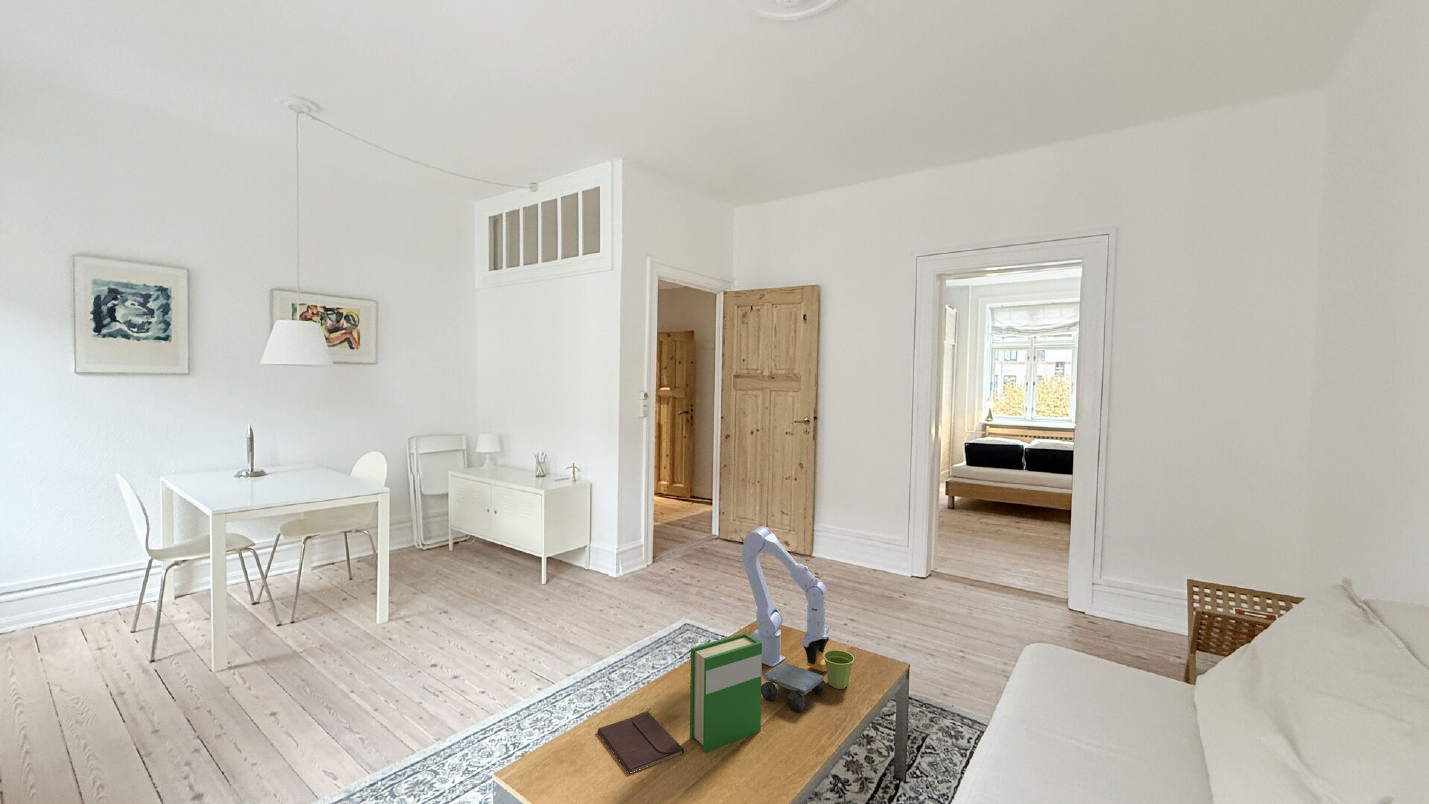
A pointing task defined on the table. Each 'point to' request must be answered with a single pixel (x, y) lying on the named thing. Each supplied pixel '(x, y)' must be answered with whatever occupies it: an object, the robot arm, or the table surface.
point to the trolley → (792, 684)
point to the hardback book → (725, 691)
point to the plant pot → (838, 667)
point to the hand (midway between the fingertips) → (814, 660)
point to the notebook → (640, 741)
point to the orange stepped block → (818, 662)
